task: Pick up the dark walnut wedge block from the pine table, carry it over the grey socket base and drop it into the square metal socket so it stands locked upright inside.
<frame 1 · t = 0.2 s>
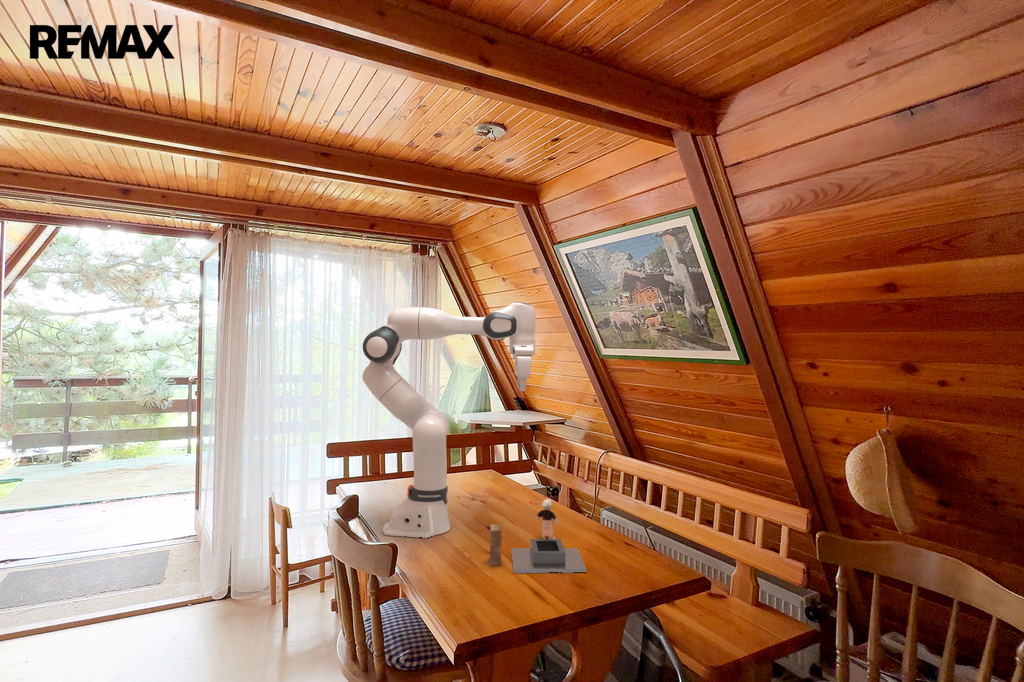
hand: (521, 390, 183), 47 cm above the table, tool pointing down, fingers open, 8 cm apart
grandmother figurine: (546, 538, 174), on the table
walnut wedge: (495, 562, 154), on the table
grey socket base: (547, 562, 155), on the table
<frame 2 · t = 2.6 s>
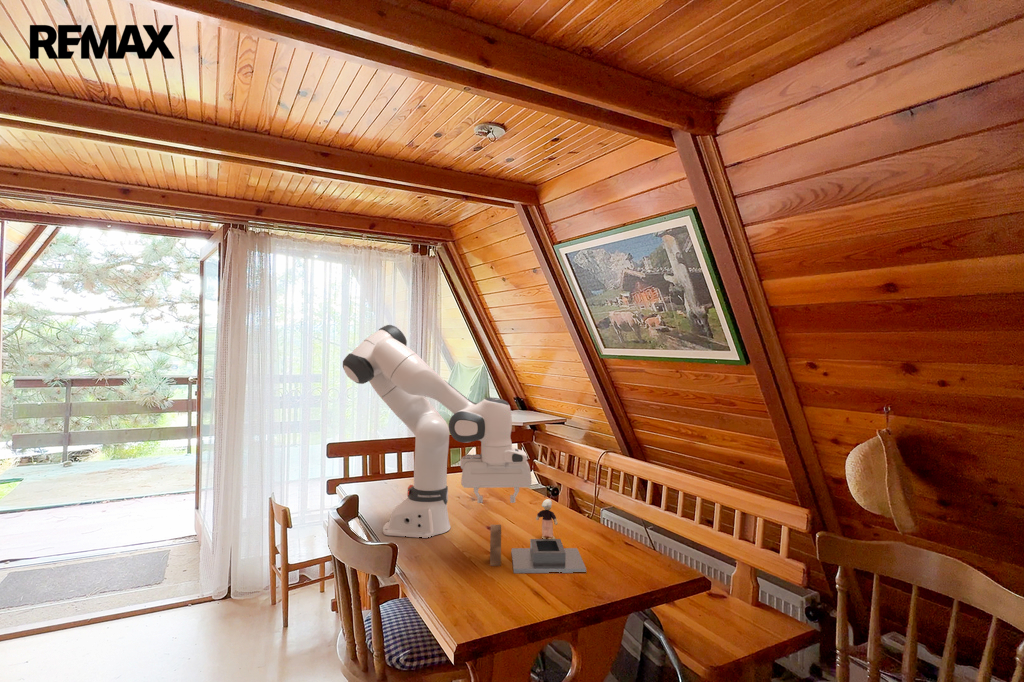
hand: (496, 502, 154), 17 cm above the table, tool pointing down, fingers open, 8 cm apart
nothing on the table moved.
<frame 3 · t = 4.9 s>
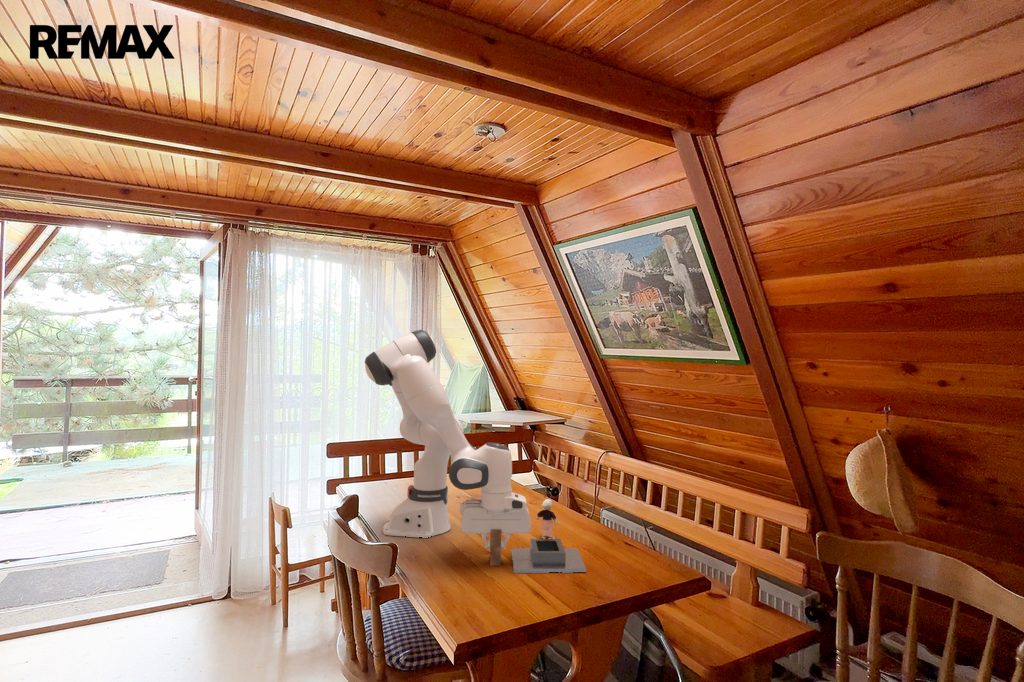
hand: (495, 547, 154), 4 cm above the table, tool pointing down, fingers closed on walnut wedge, 3 cm apart
walnut wedge: (495, 562, 154), on the table, touching gripper
everything else where it was.
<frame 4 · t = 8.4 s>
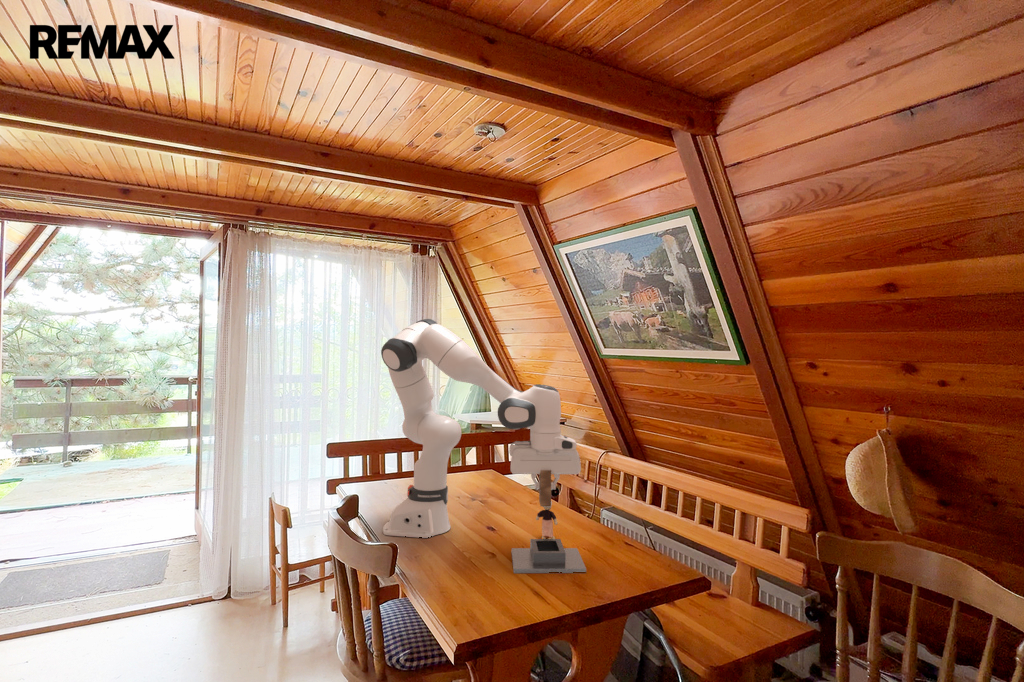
hand: (545, 489, 154), 21 cm above the table, tool pointing down, fingers closed on walnut wedge, 3 cm apart
walnut wedge: (545, 503, 154), point 17 cm above the table, touching gripper
everything else where it was.
when the fingers open (7 cm above the table, at t = 11.9 s): walnut wedge drops 1 cm, resting on grey socket base.
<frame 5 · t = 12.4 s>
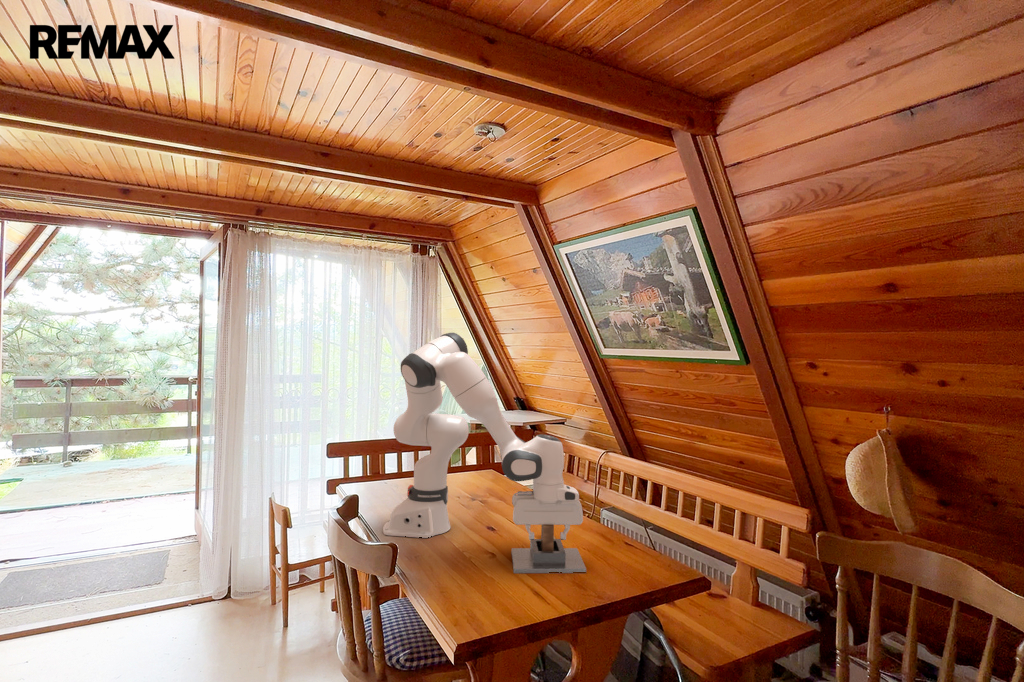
hand: (547, 539, 155), 7 cm above the table, tool pointing down, fingers open, 8 cm apart
walnut wedge: (547, 557, 155), point 1 cm above the table, touching grey socket base
everything else where it was.
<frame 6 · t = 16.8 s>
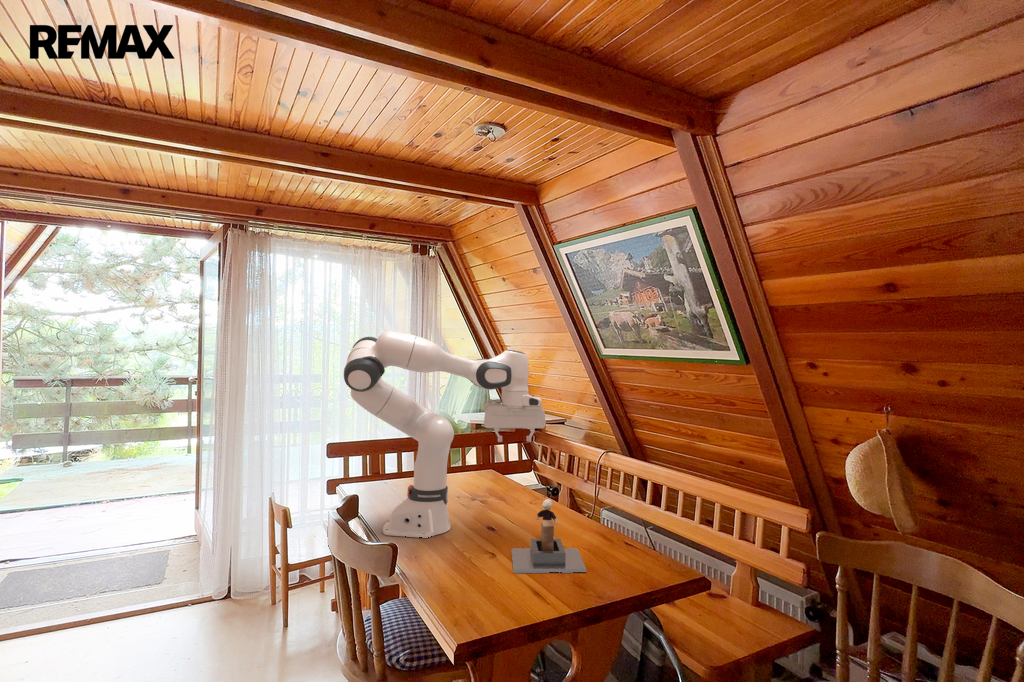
hand: (514, 441, 175), 31 cm above the table, tool pointing down, fingers open, 8 cm apart
nothing on the table moved.
at the end: walnut wedge 0.0 cm off-centre on the grey socket base, point 1.2 cm above the grey socket base's base; walnut wedge tilted 0°; the gripper is holding nothing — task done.
